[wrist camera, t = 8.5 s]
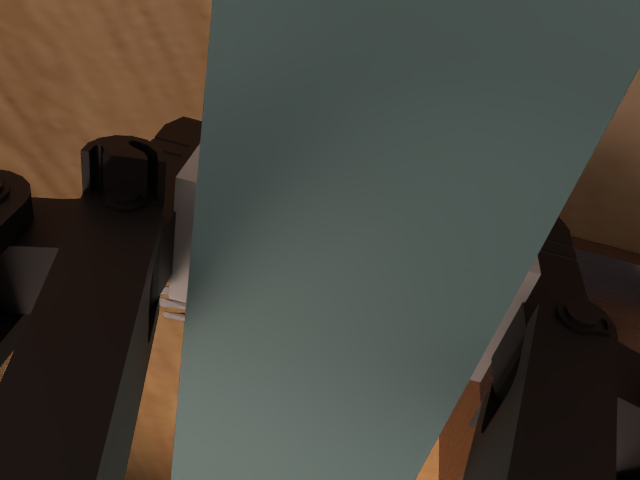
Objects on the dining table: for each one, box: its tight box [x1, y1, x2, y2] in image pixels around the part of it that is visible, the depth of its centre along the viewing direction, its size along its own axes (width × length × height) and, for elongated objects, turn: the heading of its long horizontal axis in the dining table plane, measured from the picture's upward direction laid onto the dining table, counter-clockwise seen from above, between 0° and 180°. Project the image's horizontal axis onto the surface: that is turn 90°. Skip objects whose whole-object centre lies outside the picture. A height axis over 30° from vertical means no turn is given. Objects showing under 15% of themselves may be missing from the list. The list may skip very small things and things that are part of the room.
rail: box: [171, 0, 640, 480], centre depth 12 cm, size 4×24×6 cm, turn 169°
